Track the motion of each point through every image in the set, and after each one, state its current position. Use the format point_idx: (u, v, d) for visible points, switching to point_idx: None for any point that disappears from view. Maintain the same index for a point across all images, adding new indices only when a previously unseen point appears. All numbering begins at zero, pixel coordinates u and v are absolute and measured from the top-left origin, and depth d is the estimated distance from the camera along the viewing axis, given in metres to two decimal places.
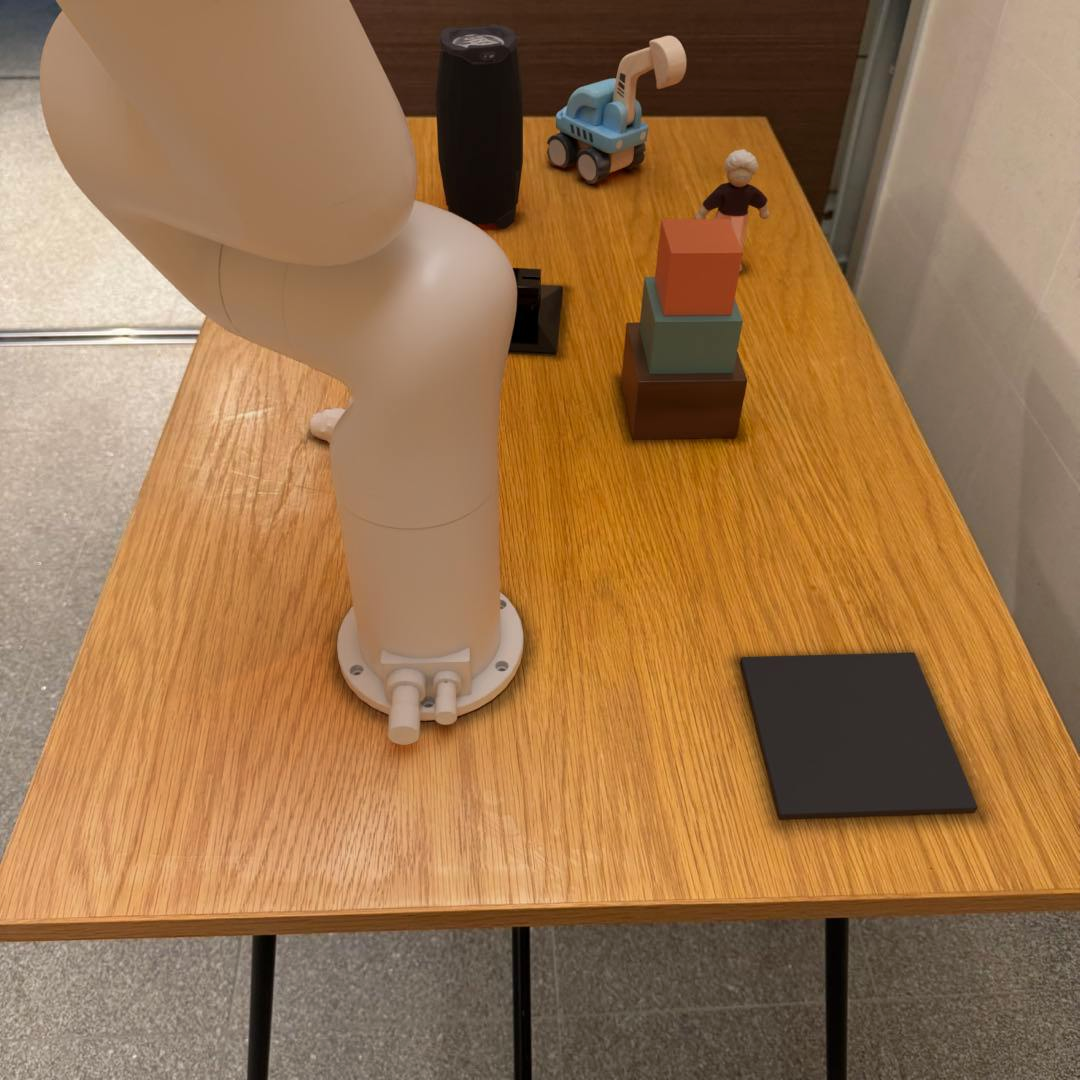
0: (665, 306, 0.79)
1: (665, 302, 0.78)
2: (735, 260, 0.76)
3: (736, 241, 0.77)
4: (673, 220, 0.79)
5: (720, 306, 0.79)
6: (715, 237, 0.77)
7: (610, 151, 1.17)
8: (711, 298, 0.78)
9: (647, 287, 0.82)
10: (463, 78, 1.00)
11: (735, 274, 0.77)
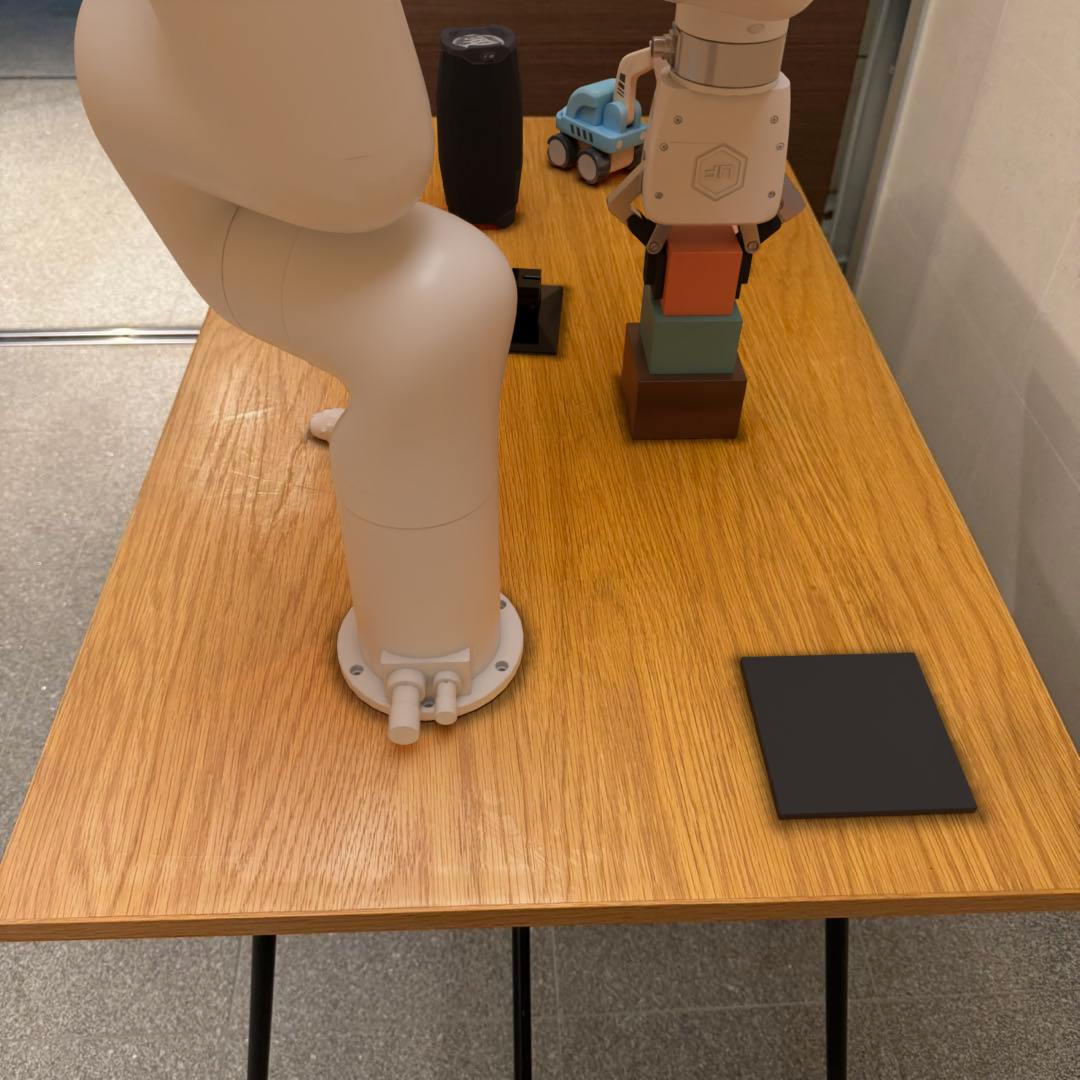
0: (665, 306, 0.79)
1: (665, 302, 0.78)
2: (735, 260, 0.76)
3: (736, 241, 0.77)
4: None
5: (720, 306, 0.79)
6: (715, 237, 0.77)
7: (610, 151, 1.17)
8: (711, 298, 0.78)
9: (647, 287, 0.82)
10: (463, 78, 1.00)
11: (735, 274, 0.77)
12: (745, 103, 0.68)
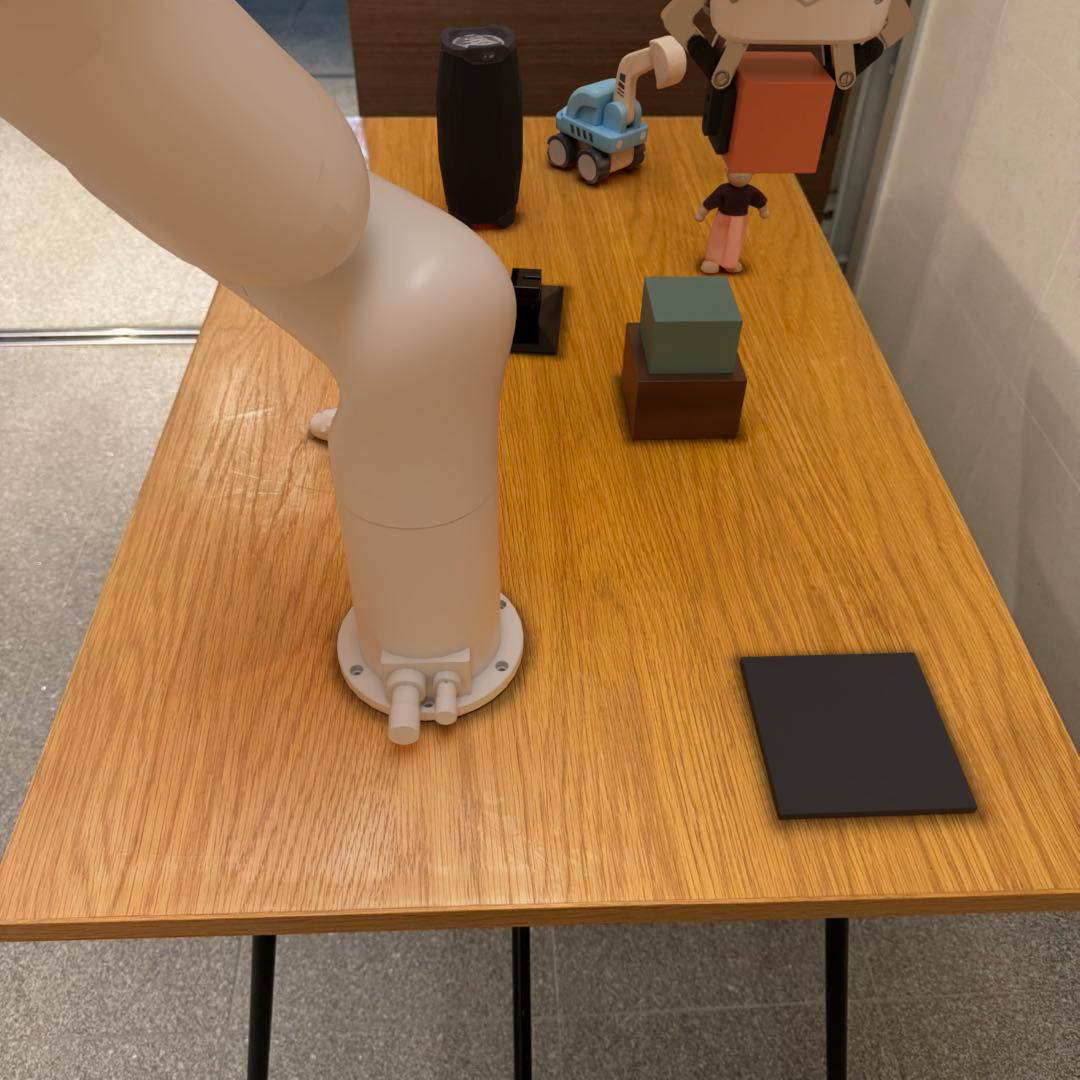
0: (733, 160, 0.62)
1: (733, 154, 0.61)
2: (825, 94, 0.59)
3: (825, 72, 0.60)
4: None
5: (802, 160, 0.62)
6: (798, 68, 0.60)
7: (610, 151, 1.17)
8: (792, 149, 0.61)
9: (647, 287, 0.82)
10: (463, 78, 1.00)
11: (824, 114, 0.60)
12: None
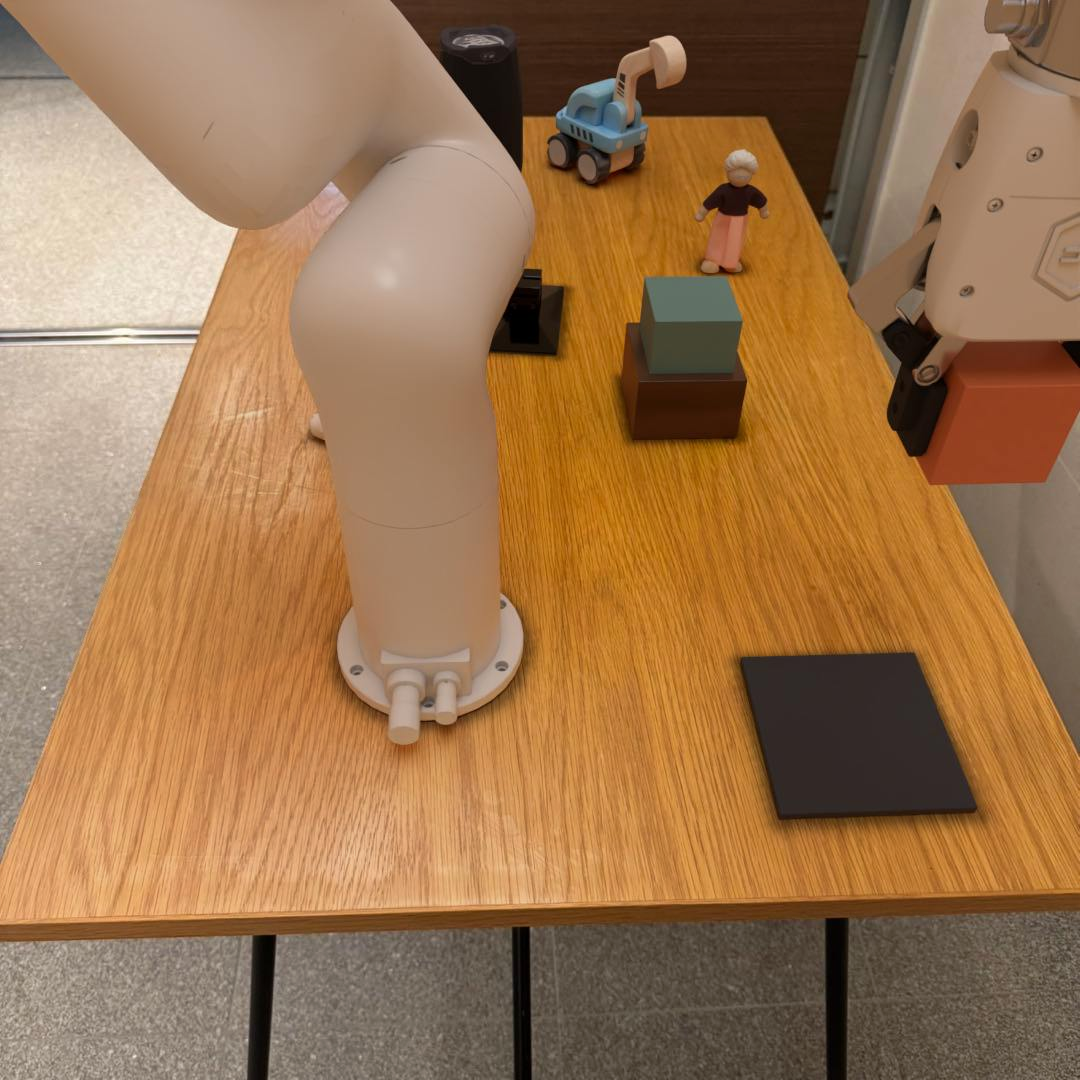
0: (935, 471, 0.45)
1: (937, 464, 0.45)
2: (1076, 398, 0.43)
3: (1071, 362, 0.43)
4: None
5: (1030, 470, 0.45)
6: (1032, 354, 0.44)
7: (610, 151, 1.17)
8: (1018, 458, 0.45)
9: (647, 287, 0.82)
10: (463, 78, 1.00)
11: (1069, 420, 0.43)
12: None
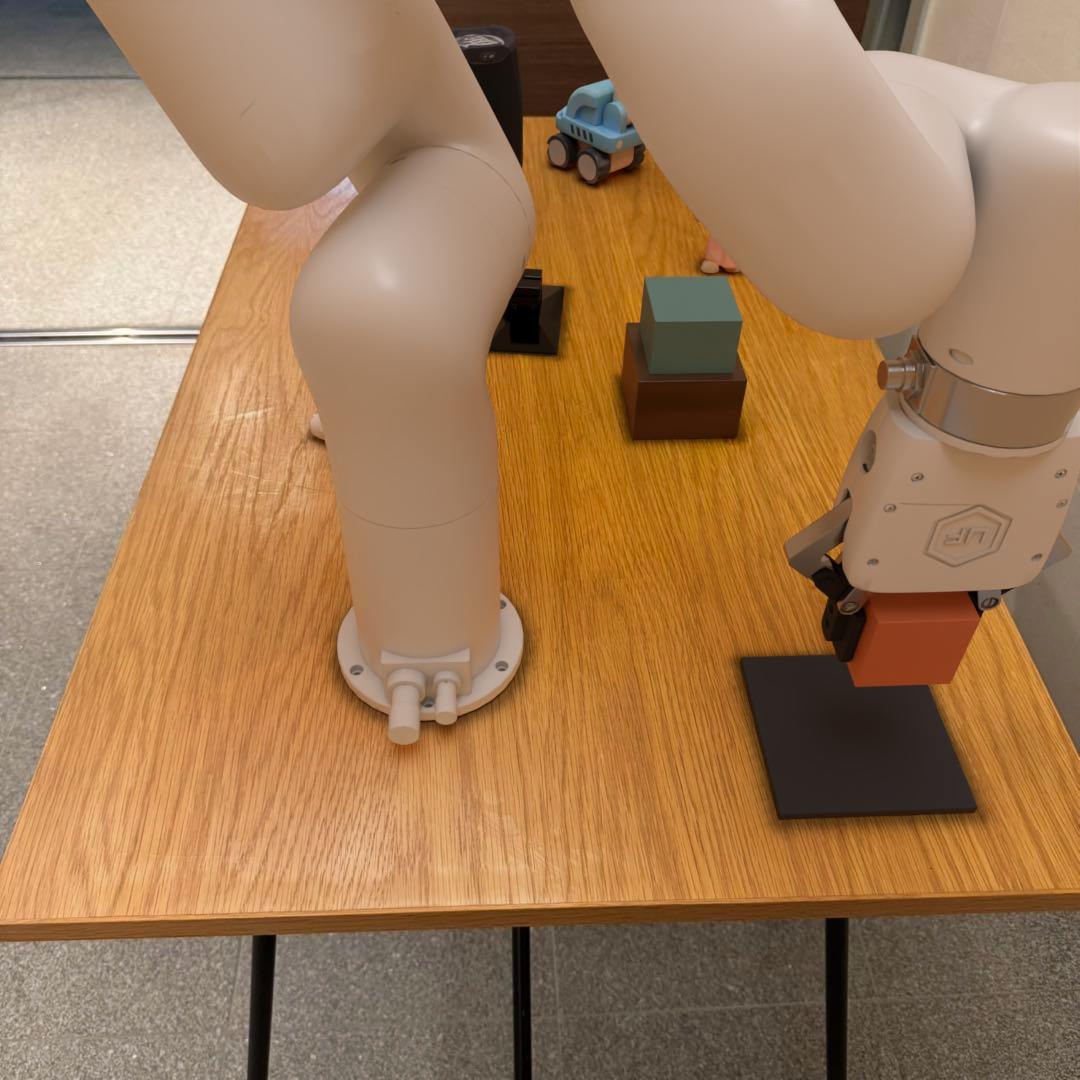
0: (859, 677, 0.55)
1: (860, 673, 0.55)
2: (968, 628, 0.53)
3: (966, 596, 0.54)
4: None
5: (937, 675, 0.56)
6: None
7: (610, 151, 1.17)
8: (926, 668, 0.55)
9: (647, 287, 0.82)
10: None
11: (965, 642, 0.54)
12: (1023, 457, 0.45)
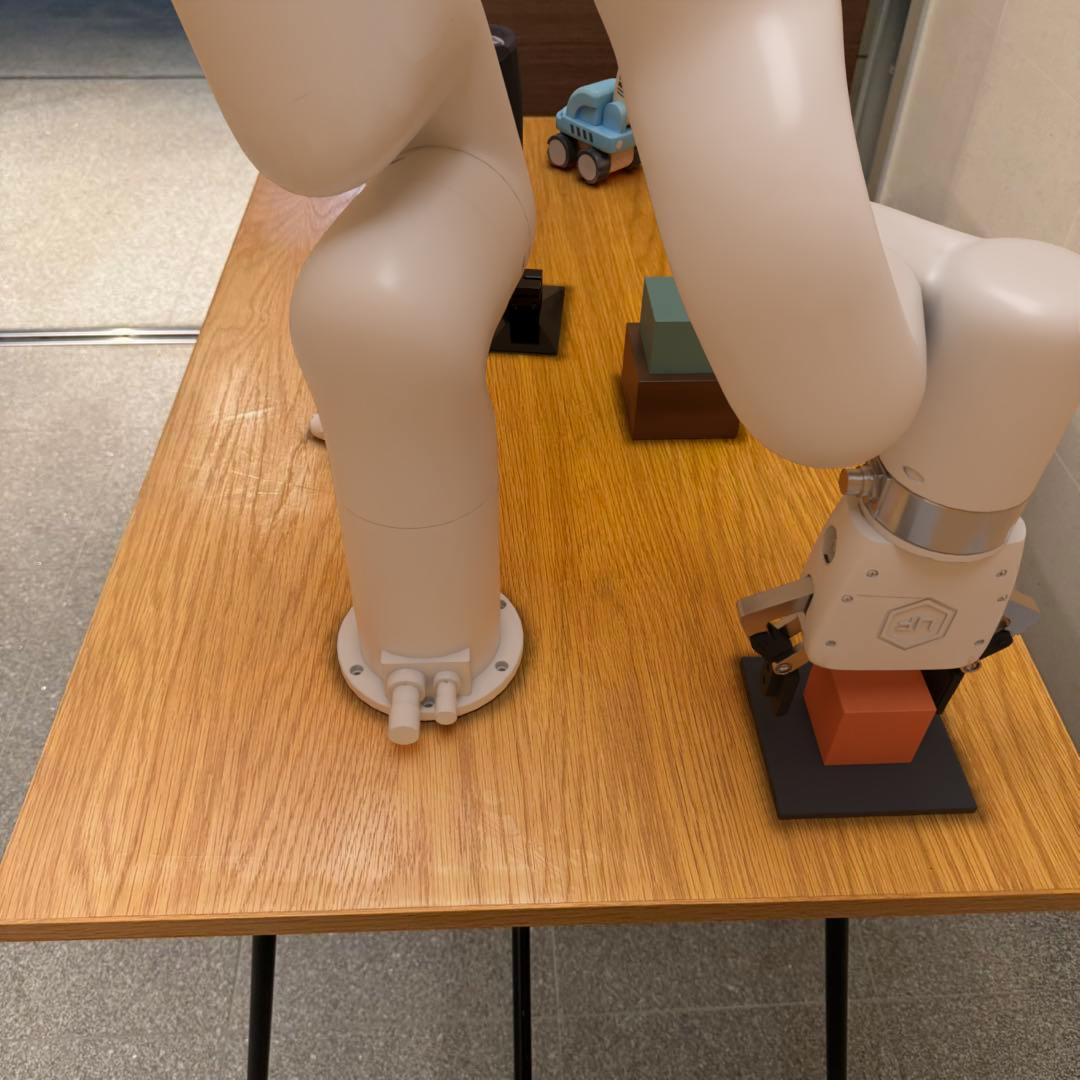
0: (827, 757, 0.61)
1: (828, 753, 0.61)
2: (926, 717, 0.58)
3: (924, 686, 0.59)
4: None
5: (898, 756, 0.61)
6: (896, 679, 0.60)
7: (610, 151, 1.17)
8: (888, 749, 0.61)
9: (647, 287, 0.82)
10: None
11: (923, 728, 0.59)
12: None
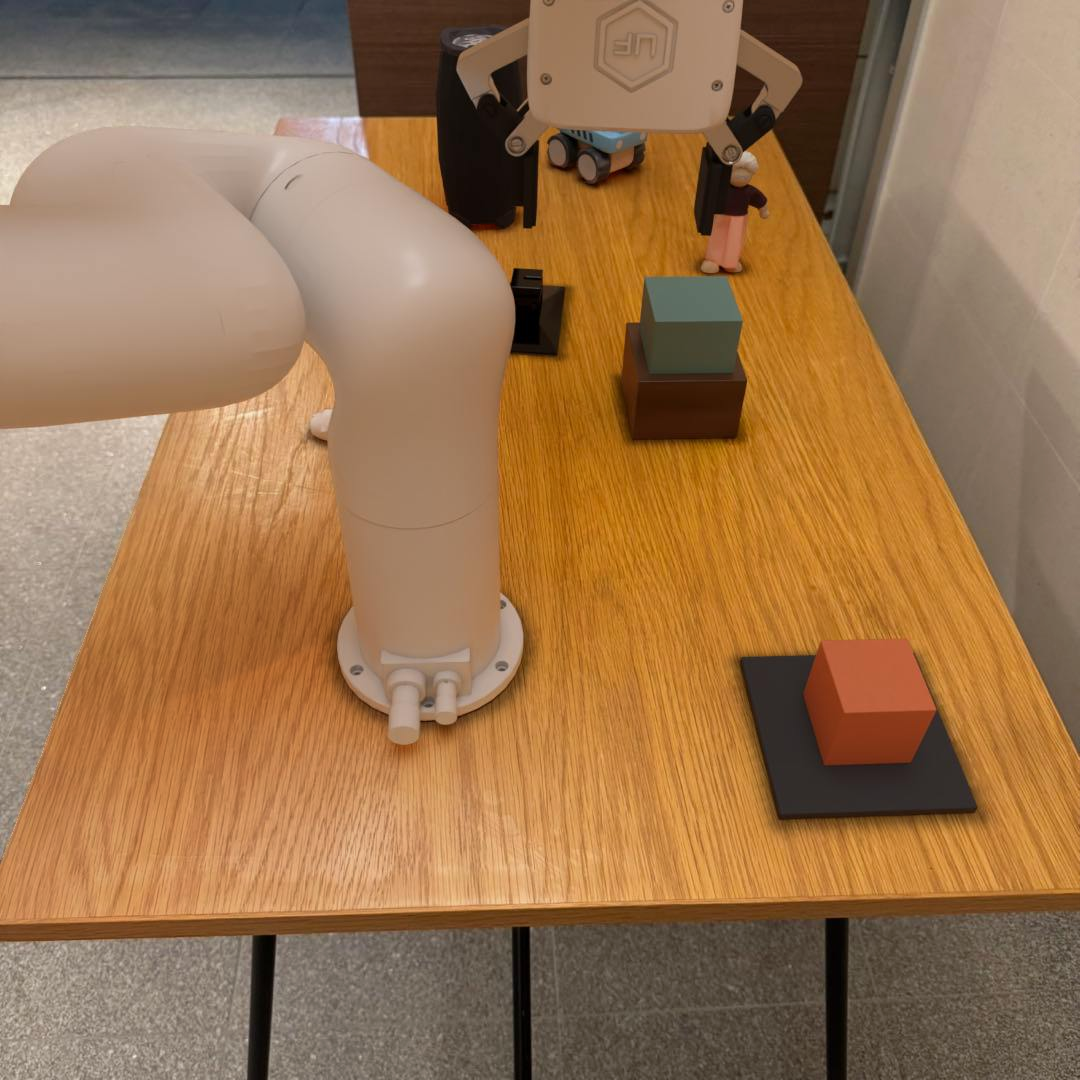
0: (827, 757, 0.61)
1: (828, 753, 0.61)
2: (926, 717, 0.58)
3: (924, 686, 0.59)
4: (836, 642, 0.61)
5: (898, 756, 0.61)
6: (896, 679, 0.60)
7: (610, 151, 1.17)
8: (888, 749, 0.61)
9: (647, 287, 0.82)
10: None
11: (923, 728, 0.59)
12: None
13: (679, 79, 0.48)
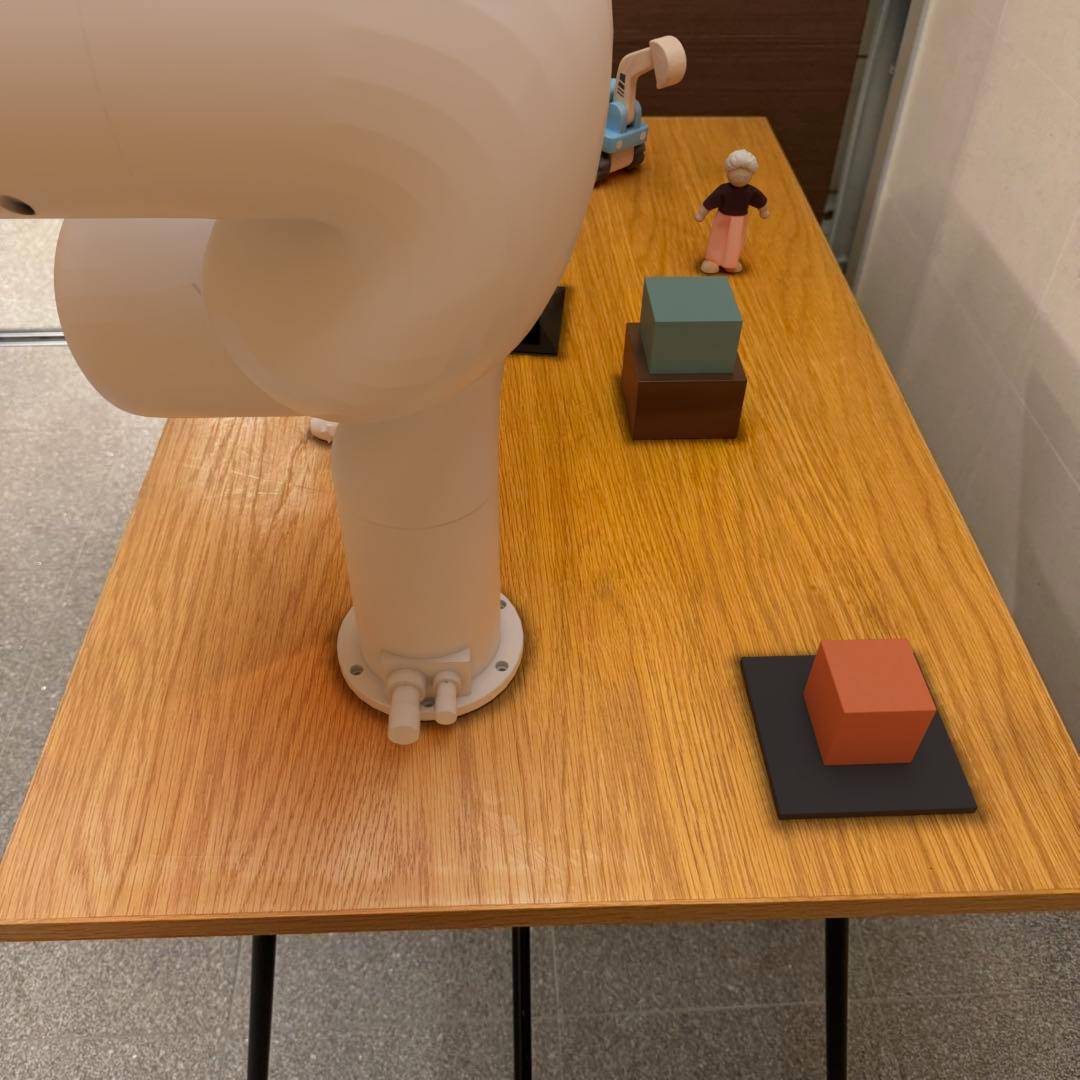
0: (827, 757, 0.61)
1: (828, 753, 0.61)
2: (926, 717, 0.58)
3: (924, 686, 0.59)
4: (836, 642, 0.61)
5: (898, 756, 0.61)
6: (896, 679, 0.60)
7: (610, 151, 1.17)
8: (888, 749, 0.61)
9: (647, 287, 0.82)
10: None
11: (923, 728, 0.59)
12: None
13: None
